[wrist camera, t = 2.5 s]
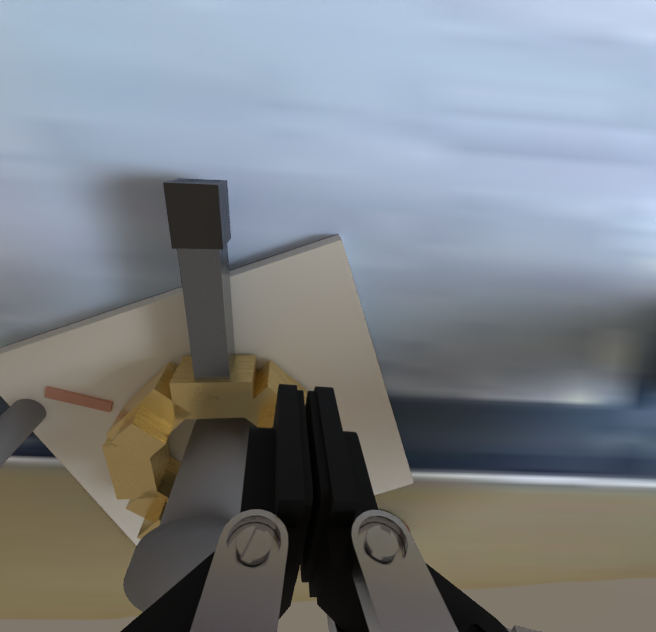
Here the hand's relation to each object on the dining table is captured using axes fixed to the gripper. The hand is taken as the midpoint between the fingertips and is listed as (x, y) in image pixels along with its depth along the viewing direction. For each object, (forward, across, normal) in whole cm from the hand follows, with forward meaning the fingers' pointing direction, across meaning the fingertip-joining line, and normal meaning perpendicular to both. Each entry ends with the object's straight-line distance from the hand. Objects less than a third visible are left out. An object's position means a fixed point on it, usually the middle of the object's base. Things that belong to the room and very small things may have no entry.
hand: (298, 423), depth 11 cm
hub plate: (+14, +3, +12) cm, 18 cm away
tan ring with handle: (+12, +4, +6) cm, 14 cm away
